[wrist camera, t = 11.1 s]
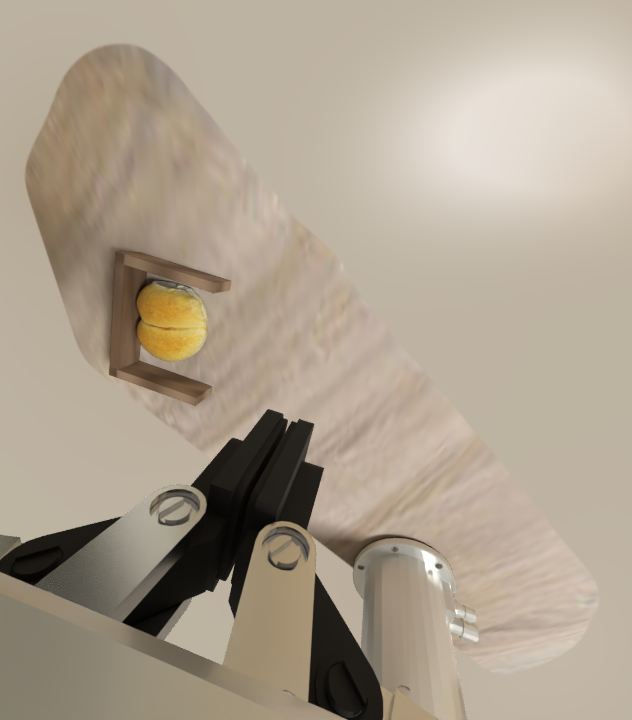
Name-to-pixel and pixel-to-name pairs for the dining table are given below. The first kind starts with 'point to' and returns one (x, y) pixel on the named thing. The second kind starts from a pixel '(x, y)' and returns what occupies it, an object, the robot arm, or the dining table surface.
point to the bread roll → (171, 321)
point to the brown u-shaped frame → (127, 318)
